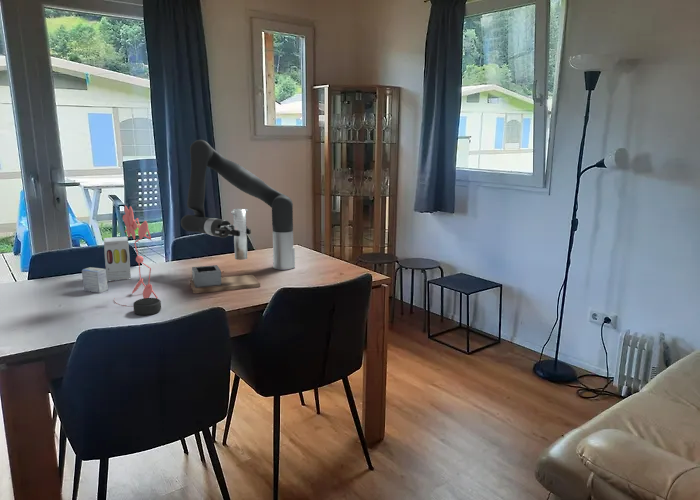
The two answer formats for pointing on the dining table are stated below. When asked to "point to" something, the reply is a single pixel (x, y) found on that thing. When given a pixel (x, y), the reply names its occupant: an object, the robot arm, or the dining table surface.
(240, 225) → the silver flared cylinder
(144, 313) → the smart speaker
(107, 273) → the supplement box
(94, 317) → the dining table surface
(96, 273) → the white paper stack
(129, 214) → the figurine
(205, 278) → the box
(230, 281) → the stand board
